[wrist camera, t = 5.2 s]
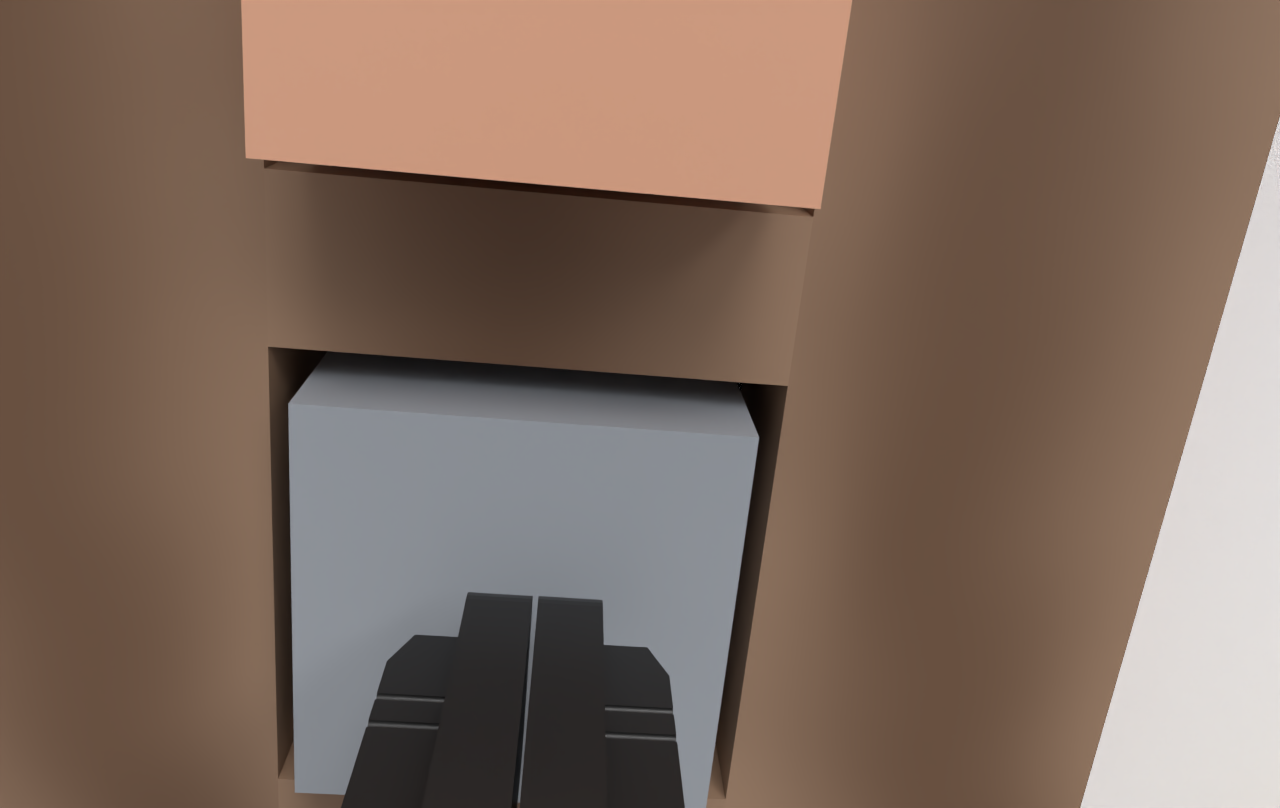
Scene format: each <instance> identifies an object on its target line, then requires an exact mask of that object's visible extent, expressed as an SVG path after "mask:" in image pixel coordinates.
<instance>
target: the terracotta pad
mask: <svg viewBox="0 0 1280 808" xmlns="http://www.w3.org/2000/svg"><path fill="white" fill-rule="evenodd" d="M851 6H852V0H241V13H242V48H243V83H244V118H245V153H246V158H250V159H262V160H273V161H284V162H295V163H307V164H318V165H329V166H340V167H352V168H363V169H374V170H385V171H397V172H408V173H419V174H430V175H442V176H453V177H464V178H475V179H486V180H498V181H509V182H520V183H531V184H543V185H554V186H565V187H576V188H588V189H599V190H610V191H621V192H633V193H644V194H655V195H666V196H678V197H689V198H700V199H711V200H723V201H734V202H745V203H756V204H768V205H779V206H790V207H801V208H812V209H821V203H822V196H823V189H824V183H825V176H826V170H827V163H828V157H829V150H830V144H831V137H832V130H833V124H834V117H835V111H836V104H837V98H838V91H839V84H840V78H841V71H842V65H843V58H844V52H845V45H846V39H847V32H848V25H849V19H850V12H851Z"/></svg>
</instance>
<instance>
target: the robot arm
mask: <svg viewBox="0 0 1280 808" xmlns="http://www.w3.org/2000/svg"><path fill="white" fill-rule="evenodd" d="M532 602H533V596H527V595H510V594H493V593H476V592H468V593H467V597H466V601H465V606H464V611H463V615H462V620H461V625H460V629H459V634H458V637H450V636H432V635H414V636H413V637H412V638H411V639H410V640H409V641H408V642H407V643H405V644H404V645H403V646H402V647H401V648H400V649H399V650H398V651H397V652H396V653H395V654H394V655H393V656H392V657H391V658H389V659H388V660H387V662H386V665H385V668H384V672H383V675H382V678H381V681H380V684H379V688H378V691H377V697H376V700H374V704H373V707H372V710H371V713H370V716H369V720H368V727H366V729H365V732H364V735H363V739H362V742H361V745H360V748H359V751H358V755H357V758H356V761H355V764H354V767H353V771H352V774H351V777H350V780H349V783H348V787H347V790H346V793H345V796H344V799H343V802H342V806H341V808H517V806H518V795H519V784H520V773H521V762H522V750H523V737H524V723H525V709H526V694H527V679H528V664H529V649H530V634H531V619H532ZM519 808H685V804H684V796H683V787H682V779H681V770H680V762H679V753H678V745H677V742H676V728H675V719H674V715H673V702H672V693H671V685H670V676H669V675H668V673H667V672H666V671H665V670H664V668H663V667H662V666H661V664H660V663H659V662H658V660H657V659H656V658H655V657H654V655H653V654H652V653H651V651H650V650H649V649H648V647H633V646H615V645H604V633H603V600H599V599H582V598H565V597H548V596H539V597H538V607H537V618H536V629H535V640H534V651H533V662H532V674H531V685H530V696H529V707H528V718H527V729H526V740H525V751H524V763H523V774H522V785H521V796H520V807H519Z"/></svg>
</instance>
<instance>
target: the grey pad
mask: <svg viewBox="0 0 1280 808" xmlns="http://www.w3.org/2000/svg"><path fill="white" fill-rule="evenodd" d="M288 417H289V477H290V537H291V598H292V658H293V718H294V778H295V793H316V794H338V795H345V793H346V790H347V787H348V783H349V780H350V777H351V774H352V771H353V767H354V764H355V761H356V758H357V755H358V751H359V748H360V745H361V742H362V739H363V735H364V732H365V729H366V727H368V720H369V716H370V713H371V710H372V707H373V704H374V700H376V697H377V691H378V688H379V684H380V681H381V678H382V675H383V672H384V668H385V665H386V662H387V660H388V659H389V658H391V657H392V656H393V655H394V654H395V653H396V652H397V651H398V650H399V649H400V648H401V647H402V646H403V645H404V644H405V643H407V642H408V641H409V640H410V639H411V638H412V637H413V636H414V635H432V636H450V637H458V634H459V629H460V625H461V620H462V615H463V611H464V606H465V601H466V597H467V593H468V592H476V593H493V594H510V595H527V596H533V602H532V619H531V634H530V649H529V664H528V679H527V694H526V709H525V723H524V737H523V750H522V762H521V773H520V784H519V795H518V803H520V796H521V785H522V774H523V763H524V751H525V740H526V729H527V718H528V707H529V696H530V685H531V674H532V662H533V651H534V640H535V629H536V618H537V607H538V597H539V596H548V597H565V598H582V599H599V600H603V633H604V645H615V646H633V647H648V649H649V650H650V651H651V653H652V654H653V655H654V657H655V658H656V659H657V660H658V662H659V663H660V664H661V666H662V667H663V668H664V670H665V671H666V672H667V673H668V675H669V676H670V685H671V693H672V702H673V715H674V719H675V728H676V742H677V745H678V753H679V762H680V770H681V779H682V787H683V796H684V804H685V808H706V805H707V798H708V791H709V784H710V777H711V770H712V763H713V756H714V749H715V742H716V735H717V728H718V721H719V714H720V707H721V700H722V693H723V686H724V679H725V672H726V665H727V658H728V651H729V644H730V637H731V630H732V623H733V616H734V610H735V603H736V596H737V589H738V582H739V575H740V568H741V561H742V554H743V547H744V540H745V533H746V526H747V519H748V512H749V505H750V498H751V491H752V484H753V477H754V470H755V463H756V456H757V449H758V442H759V436H758V433H757V431H756V429H755V426H754V424H753V421H752V419H751V416H750V414H749V411H748V409H747V406H746V404H745V402H744V399H743V397H742V394H741V392H740V389H739V387H738V384H737V382H728V381H715V380H702V379H689V378H675V377H662V376H649V375H636V374H623V373H609V372H596V371H583V370H570V369H557V368H543V367H530V366H517V365H504V364H491V363H478V362H464V361H451V360H438V359H425V358H412V357H398V356H385V355H372V354H359V353H346V352H332V351H328V352H327V353H326V355H325V356H324V357H323V359H322V360H321V361H320V363H319V364H318V365H317V367H316V368H315V369H314V370H313V372H312V373H311V374H310V376H309V377H308V378H307V380H306V381H305V382H304V384H303V385H302V386H301V388H300V389H299V390H298V392H297V393H296V394H295V396H294V397H293V398H292V399H291V401H290V402H289V403H288Z"/></svg>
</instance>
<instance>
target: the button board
mask: <svg viewBox="0 0 1280 808" xmlns="http://www.w3.org/2000/svg"><path fill="white" fill-rule="evenodd" d="M1279 117H1280V0H852V6H851V12H850V19H849V25H848V32H847V39H846V45H845V52H844V58H843V65H842V71H841V78H840V84H839V91H838V98H837V104H836V111H835V117H834V124H833V130H832V137H831V144H830V150H829V157H828V163H827V170H826V176H825V183H824V189H823V196H822V203H821V209H812V208H801V207H790V206H779V205H768V204H756V203H745V202H734V201H723V200H711V199H700V198H689V197H678V196H666V195H655V194H644V193H633V192H621V191H610V190H599V189H588V188H576V187H565V186H554V185H543V184H531V183H520V182H509V181H498V180H486V179H475V178H464V177H453V176H442V175H430V174H419V173H408V172H397V171H385V170H374V169H363V168H352V167H340V166H329V165H318V164H307V163H295V162H284V161H273V160H262V159H250V158H246V153H245V118H244V83H243V48H242V13H241V0H0V808H341V806H342V802H343V799H344V796H345V795H338V794H316V793H295V778H294V718H293V658H292V598H291V537H290V477H289V417H288V403H289V402H290V401H291V399H292V398H293V397H294V396H295V394H296V393H297V392H298V390H299V389H300V388H301V386H302V385H303V384H304V382H305V381H306V380H307V378H308V377H309V376H310V374H311V373H312V372H313V370H314V369H315V368H316V367H317V365H318V364H319V363H320V361H321V360H322V359H323V357H324V356H325V355H326V353H327V352H328V351H332V352H346V353H359V354H372V355H385V356H398V357H412V358H425V359H438V360H451V361H464V362H478V363H491V364H504V365H517V366H530V367H543V368H557V369H570V370H583V371H596V372H609V373H623V374H636V375H649V376H662V377H675V378H689V379H702V380H715V381H728V382H741V383H742V389H741V394H742V397H743V399H744V402H745V404H746V406H747V409H748V411H749V414H750V416H751V419H752V421H753V424H754V426H755V429H756V431H757V433H758V436H759V442H758V449H757V456H756V463H755V470H754V477H753V484H752V491H751V498H750V505H749V512H748V519H747V526H746V533H745V540H744V547H743V554H742V561H741V568H740V575H739V582H738V589H737V596H736V603H735V610H734V616H733V623H732V630H731V637H730V644H729V651H728V658H727V665H726V672H725V679H724V686H723V693H722V700H721V707H720V714H719V721H718V728H717V735H716V742H715V749H714V756H713V763H712V770H711V777H710V784H709V791H708V798H707V805H706V808H1080V806H1081V802H1082V799H1083V795H1084V792H1085V788H1086V785H1087V781H1088V778H1089V774H1090V771H1091V768H1092V764H1093V761H1094V757H1095V754H1096V750H1097V747H1098V743H1099V740H1100V736H1101V733H1102V729H1103V726H1104V723H1105V719H1106V716H1107V712H1108V709H1109V705H1110V702H1111V698H1112V695H1113V691H1114V688H1115V684H1116V681H1117V678H1118V674H1119V671H1120V667H1121V664H1122V660H1123V657H1124V653H1125V650H1126V646H1127V643H1128V640H1129V636H1130V633H1131V629H1132V626H1133V622H1134V619H1135V615H1136V612H1137V608H1138V605H1139V601H1140V598H1141V595H1142V591H1143V588H1144V584H1145V581H1146V577H1147V574H1148V570H1149V567H1150V563H1151V560H1152V556H1153V553H1154V550H1155V546H1156V543H1157V539H1158V536H1159V532H1160V529H1161V525H1162V522H1163V518H1164V515H1165V511H1166V508H1167V505H1168V501H1169V498H1170V494H1171V491H1172V487H1173V484H1174V480H1175V477H1176V473H1177V470H1178V466H1179V463H1180V460H1181V456H1182V453H1183V449H1184V446H1185V442H1186V439H1187V435H1188V432H1189V428H1190V425H1191V421H1192V418H1193V415H1194V411H1195V408H1196V404H1197V401H1198V397H1199V394H1200V390H1201V387H1202V383H1203V380H1204V376H1205V373H1206V370H1207V366H1208V363H1209V359H1210V356H1211V352H1212V349H1213V345H1214V342H1215V338H1216V335H1217V331H1218V328H1219V325H1220V321H1221V318H1222V314H1223V311H1224V307H1225V304H1226V300H1227V297H1228V293H1229V290H1230V286H1231V283H1232V280H1233V276H1234V273H1235V269H1236V266H1237V262H1238V259H1239V255H1240V252H1241V248H1242V245H1243V241H1244V238H1245V235H1246V231H1247V228H1248V224H1249V221H1250V217H1251V214H1252V210H1253V207H1254V203H1255V200H1256V196H1257V193H1258V190H1259V186H1260V183H1261V179H1262V176H1263V172H1264V169H1265V165H1266V162H1267V158H1268V155H1269V151H1270V148H1271V145H1272V141H1273V138H1274V134H1275V131H1276V127H1277V124H1278V120H1279ZM519 807H520V803H518V806H517V808H519Z"/></svg>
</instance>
